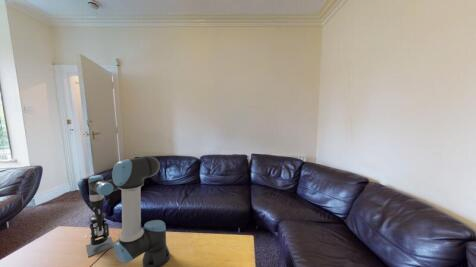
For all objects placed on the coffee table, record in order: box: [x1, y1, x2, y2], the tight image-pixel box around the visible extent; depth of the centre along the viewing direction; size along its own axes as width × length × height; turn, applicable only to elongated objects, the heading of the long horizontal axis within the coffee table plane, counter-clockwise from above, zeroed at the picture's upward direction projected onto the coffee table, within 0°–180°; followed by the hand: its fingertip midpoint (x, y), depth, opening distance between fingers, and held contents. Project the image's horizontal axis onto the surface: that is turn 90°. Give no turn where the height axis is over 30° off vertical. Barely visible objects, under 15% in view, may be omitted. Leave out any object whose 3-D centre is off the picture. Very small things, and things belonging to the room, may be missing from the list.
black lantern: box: [88, 206, 110, 245], centre depth 125 cm, size 12×9×23 cm
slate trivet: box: [85, 236, 115, 258], centre depth 126 cm, size 14×14×1 cm
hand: (99, 231), depth 125 cm, fingers closed on black lantern, 9 cm apart
